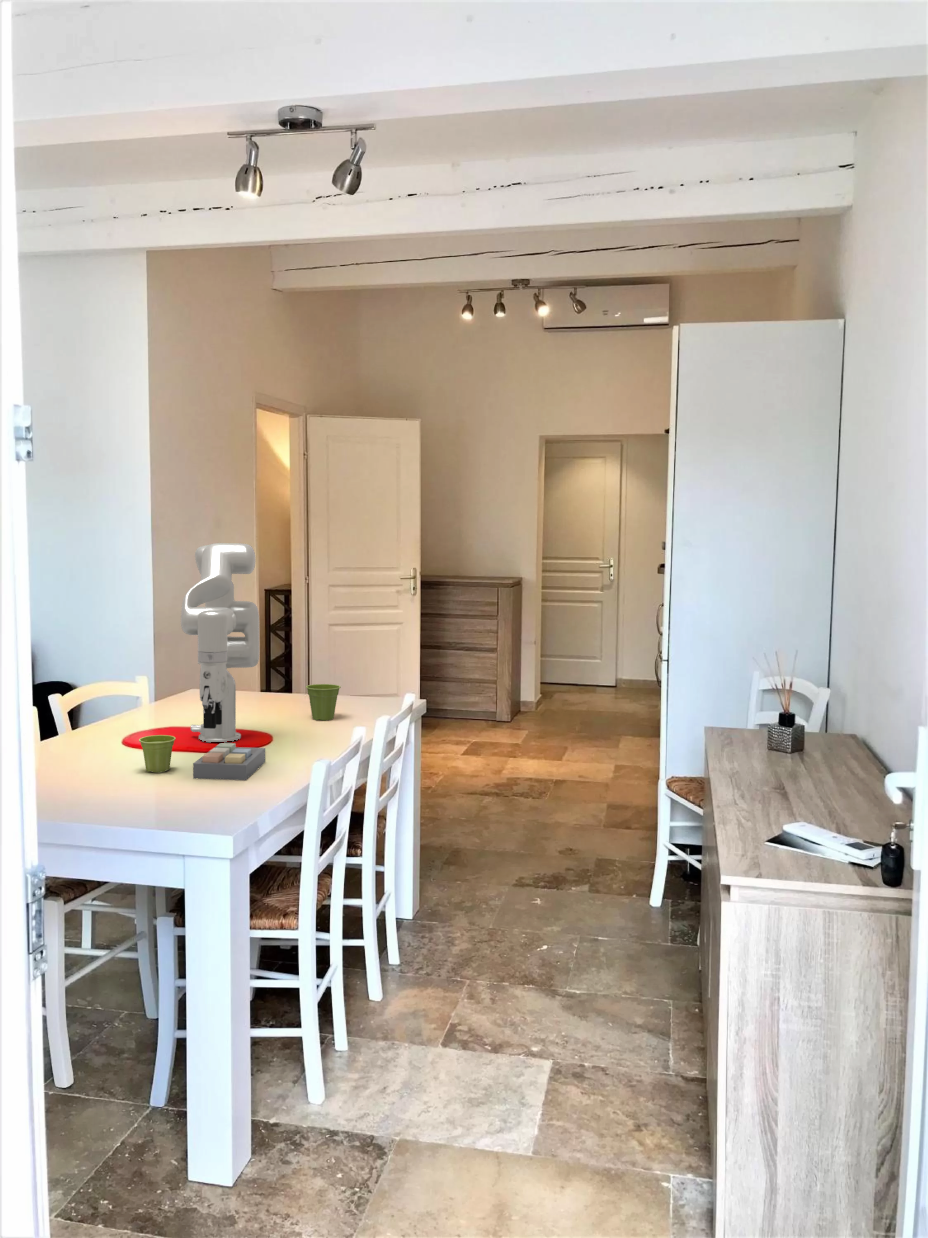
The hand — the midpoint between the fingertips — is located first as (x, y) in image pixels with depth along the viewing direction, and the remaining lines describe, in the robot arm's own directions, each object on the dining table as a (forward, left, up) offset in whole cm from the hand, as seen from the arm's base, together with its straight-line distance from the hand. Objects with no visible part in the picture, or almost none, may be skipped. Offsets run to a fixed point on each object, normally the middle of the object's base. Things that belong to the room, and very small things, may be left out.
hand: (212, 725), depth 268 cm
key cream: (0, +6, -11) cm, 12 cm away
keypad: (+3, +6, -13) cm, 15 cm away
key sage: (0, +12, -11) cm, 16 cm away
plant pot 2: (+14, +79, -14) cm, 81 cm away
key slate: (+6, +6, -11) cm, 14 cm away
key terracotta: (0, 0, -11) cm, 11 cm away
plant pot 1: (-16, +3, -14) cm, 21 cm away
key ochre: (+6, 0, -11) cm, 12 cm away
